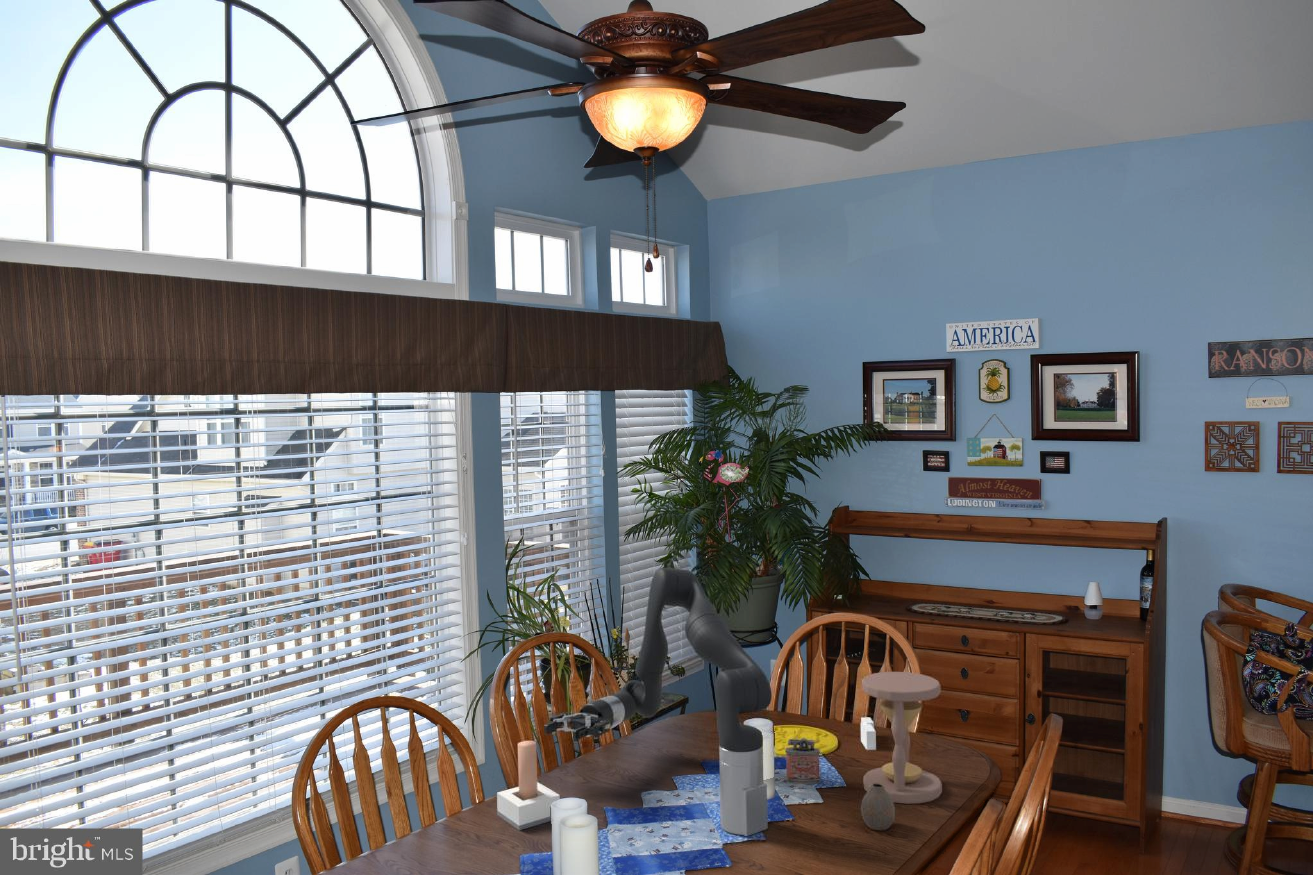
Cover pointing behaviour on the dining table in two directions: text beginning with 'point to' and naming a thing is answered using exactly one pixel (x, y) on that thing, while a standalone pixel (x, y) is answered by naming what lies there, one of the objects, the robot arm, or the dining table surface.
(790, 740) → the lighter
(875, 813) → the vase
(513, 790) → the bore block
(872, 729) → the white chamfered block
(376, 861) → the dining table surface
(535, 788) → the peg
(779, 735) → the decorative medallion
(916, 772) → the hourglass
